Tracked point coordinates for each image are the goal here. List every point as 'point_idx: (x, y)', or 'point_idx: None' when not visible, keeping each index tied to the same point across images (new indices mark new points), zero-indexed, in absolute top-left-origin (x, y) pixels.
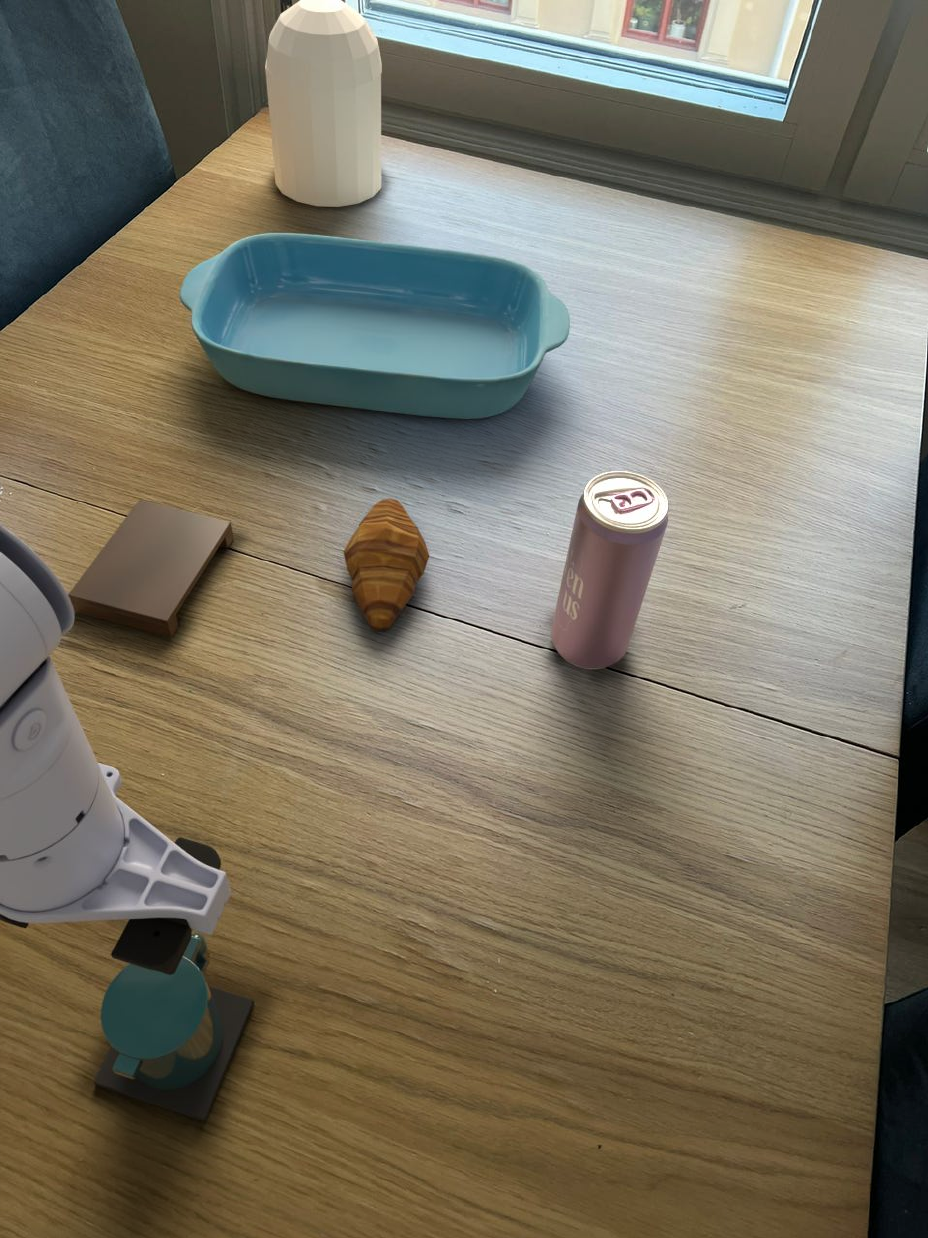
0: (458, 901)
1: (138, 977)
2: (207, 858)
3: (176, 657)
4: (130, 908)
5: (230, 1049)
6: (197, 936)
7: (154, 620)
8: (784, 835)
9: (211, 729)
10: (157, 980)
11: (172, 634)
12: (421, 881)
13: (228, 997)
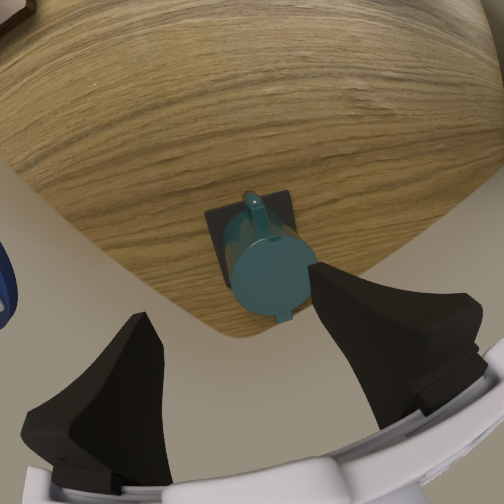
0: (370, 65)
1: (249, 271)
2: (470, 321)
3: (46, 17)
4: (442, 472)
5: (294, 226)
6: (257, 203)
7: (17, 14)
8: (464, 7)
9: (105, 32)
10: (266, 264)
11: (34, 10)
12: (343, 58)
13: (271, 199)
